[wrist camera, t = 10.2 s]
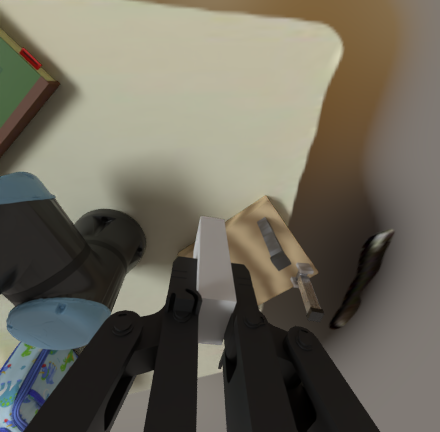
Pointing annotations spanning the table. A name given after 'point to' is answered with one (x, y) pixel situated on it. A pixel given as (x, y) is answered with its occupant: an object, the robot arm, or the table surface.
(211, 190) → the table surface
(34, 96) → the hardcover book
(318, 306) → the hinged leg
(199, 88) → the table surface
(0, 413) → the lunch box
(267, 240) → the stool top
